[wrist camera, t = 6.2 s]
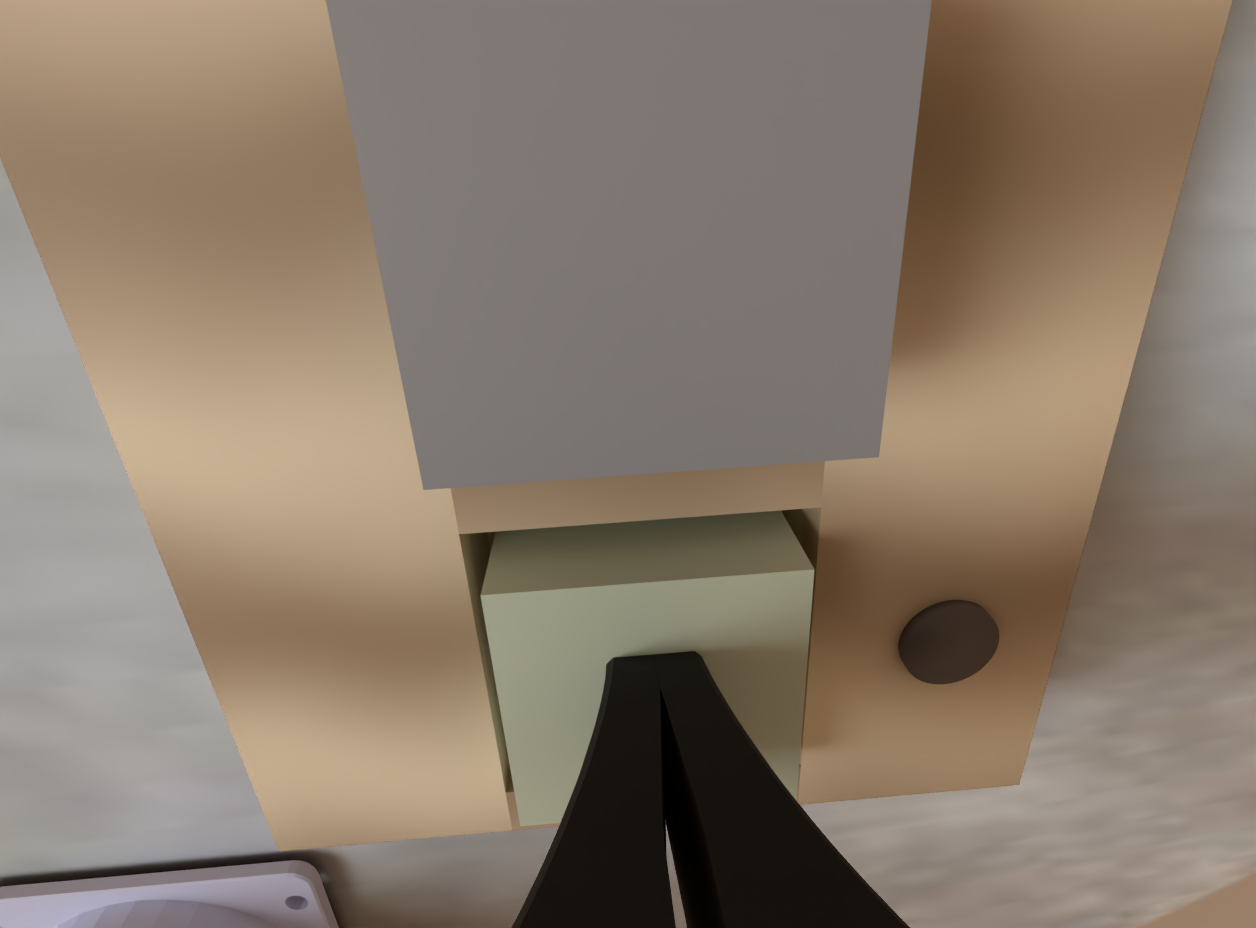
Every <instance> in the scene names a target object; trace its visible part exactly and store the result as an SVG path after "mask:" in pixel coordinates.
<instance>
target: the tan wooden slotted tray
mask: <svg viewBox="0 0 1256 928" xmlns="http://www.w3.org/2000/svg"><path fill="white" fill-rule="evenodd" d="M1232 1H1233V0H932V2H931V11H930V20H929V28H928V37H927V46H926V54H925V63H924V72H923V80H922V89H921V98H920V106H919V115H918V124H917V132H916V141H915V150H914V158H913V167H912V176H911V184H910V193H909V202H908V210H907V219H906V227H905V236H904V245H903V253H902V262H901V271H900V279H899V288H898V297H897V305H896V314H895V323H894V331H893V340H892V349H891V357H890V366H889V375H888V383H887V392H886V401H885V409H884V418H883V427H882V435H881V444H880V453H879V457H875V458H861V459H848V460H834V461H820V462H806V463H792V464H778V465H764V466H750V467H737V468H723V469H709V470H695V471H681V472H667V473H653V474H639V475H626V476H612V477H598V478H584V479H570V480H556V481H542V482H528V483H515V484H501V485H487V486H473V487H459V488H445V489H431V490H423V485H422V480H421V475H420V470H419V465H418V460H417V455H416V450H415V445H414V440H413V435H412V430H411V425H410V420H409V415H408V410H407V405H406V400H405V395H404V390H403V385H402V380H401V375H400V370H399V365H398V360H397V355H396V350H395V345H394V340H393V335H392V330H391V325H390V320H389V315H388V310H387V305H386V300H385V295H384V290H383V285H382V280H381V275H380V270H379V265H378V260H377V255H376V250H375V245H374V240H373V235H372V230H371V225H370V220H369V215H368V210H367V205H366V200H365V195H364V190H363V185H362V180H361V175H360V170H359V165H358V160H357V155H356V150H355V145H354V140H353V134H352V129H351V124H350V119H349V114H348V109H347V104H346V99H345V94H344V89H343V84H342V79H341V74H340V69H339V64H338V59H337V54H336V49H335V44H334V39H333V34H332V29H331V24H330V19H329V14H328V9H327V4H326V0H0V158H1V160H2V163H3V165H4V168H5V170H6V173H7V175H8V178H9V180H10V183H11V185H12V188H13V190H14V193H15V195H16V198H17V200H18V203H19V205H20V208H21V210H22V213H23V215H24V218H25V220H26V223H27V225H28V228H29V230H30V233H31V235H32V238H33V240H34V243H35V245H36V248H37V250H38V253H39V255H40V258H41V260H42V263H43V265H44V267H45V270H46V272H47V275H48V277H49V280H50V282H51V285H52V287H53V290H54V292H55V295H56V297H57V300H58V302H59V305H60V307H61V310H62V312H63V315H64V317H65V320H66V322H67V325H68V327H69V330H70V332H71V335H72V337H73V340H74V342H75V345H76V347H77V350H78V352H79V355H80V357H81V360H82V362H83V365H84V367H85V370H86V372H87V375H88V377H89V380H90V382H91V385H92V387H93V389H94V392H95V394H96V397H97V399H98V402H99V404H100V407H101V409H102V412H103V414H104V417H105V419H106V422H107V424H108V427H109V429H110V432H111V434H112V437H113V439H114V442H115V444H116V447H117V449H118V452H119V454H120V457H121V459H122V462H123V464H124V467H125V469H126V472H127V474H128V477H129V479H130V482H131V484H132V487H133V489H134V492H135V494H136V497H137V499H138V502H139V504H140V507H141V509H142V511H143V514H144V516H145V519H146V521H147V524H148V526H149V529H150V531H151V534H152V536H153V539H154V541H155V544H156V546H157V549H158V551H159V554H160V556H161V559H162V561H163V564H164V566H165V569H166V571H167V574H168V576H169V579H170V581H171V584H172V586H173V589H174V591H175V594H176V596H177V599H178V601H179V604H180V606H181V609H182V611H183V614H184V616H185V619H186V621H187V624H188V626H189V629H190V631H191V633H192V636H193V638H194V641H195V643H196V646H197V648H198V651H199V653H200V656H201V658H202V661H203V663H204V666H205V668H206V671H207V673H208V676H209V678H210V681H211V683H212V686H213V688H214V691H215V693H216V696H217V698H218V701H219V703H220V706H221V708H222V711H223V713H224V716H225V718H226V721H227V723H228V726H229V728H230V731H231V733H232V736H233V738H234V741H235V743H236V746H237V748H238V751H239V753H240V755H241V758H242V760H243V763H244V765H245V768H246V770H247V773H248V775H249V778H250V780H251V783H252V785H253V788H254V790H255V793H256V795H257V798H258V800H259V803H260V805H261V808H262V810H263V813H264V815H265V818H266V820H267V823H268V825H269V828H270V830H271V833H272V835H273V838H274V840H275V843H276V845H277V848H278V850H279V851H288V850H299V849H310V848H321V847H332V846H344V845H355V844H366V843H377V842H388V841H399V840H410V839H422V838H433V837H444V836H455V835H466V834H477V833H488V832H500V831H511V830H522V829H533V828H544V827H555V826H559V825H560V823H553V824H542V825H531V826H520V822H519V816H518V810H517V804H516V799H515V793H514V787H513V781H512V775H511V770H510V764H509V758H508V752H507V746H506V741H505V735H504V729H503V723H502V718H501V712H500V706H499V700H498V694H497V689H496V683H495V677H494V671H493V665H492V660H491V654H490V648H489V642H488V636H487V631H486V625H485V619H484V613H483V607H482V602H481V596H480V595H481V591H482V587H483V583H484V578H485V574H486V570H487V566H488V562H489V557H490V553H491V549H492V545H493V541H494V536H495V532H497V531H510V530H523V529H537V528H550V527H564V526H577V525H591V524H604V523H617V522H631V521H644V520H658V519H671V518H685V517H698V516H711V515H725V514H738V513H752V512H765V511H779V510H781V511H782V513H783V515H784V517H785V518H786V520H787V522H788V524H789V525H790V527H791V529H792V531H793V532H794V534H795V536H796V538H797V540H798V541H799V543H800V545H801V547H802V548H803V550H804V552H805V554H806V555H807V557H808V559H809V561H810V562H811V564H812V566H813V568H814V582H813V595H812V608H811V621H810V634H809V647H808V660H807V673H806V685H805V698H804V711H803V724H802V737H801V750H800V763H799V776H798V789H797V802H798V803H799V805H800V804H812V803H823V802H834V801H845V800H856V799H867V798H878V797H890V796H901V795H912V794H923V793H934V792H945V791H956V790H968V789H979V788H990V787H1001V786H1012V785H1019V784H1020V780H1021V777H1022V773H1023V769H1024V766H1025V762H1026V758H1027V755H1028V751H1029V747H1030V744H1031V740H1032V736H1033V732H1034V729H1035V725H1036V721H1037V718H1038V714H1039V710H1040V707H1041V703H1042V699H1043V696H1044V692H1045V688H1046V685H1047V681H1048V677H1049V674H1050V670H1051V666H1052V663H1053V659H1054V655H1055V652H1056V648H1057V644H1058V641H1059V637H1060V633H1061V629H1062V626H1063V622H1064V618H1065V615H1066V611H1067V607H1068V604H1069V600H1070V596H1071V593H1072V589H1073V585H1074V582H1075V578H1076V574H1077V571H1078V567H1079V563H1080V560H1081V556H1082V552H1083V549H1084V545H1085V541H1086V538H1087V534H1088V530H1089V527H1090V523H1091V519H1092V515H1093V512H1094V508H1095V504H1096V501H1097V497H1098V493H1099V490H1100V486H1101V482H1102V479H1103V475H1104V471H1105V468H1106V464H1107V460H1108V457H1109V453H1110V449H1111V446H1112V442H1113V438H1114V435H1115V431H1116V427H1117V424H1118V420H1119V416H1120V412H1121V409H1122V405H1123V401H1124V398H1125V394H1126V390H1127V387H1128V383H1129V379H1130V376H1131V372H1132V368H1133V365H1134V361H1135V357H1136V354H1137V350H1138V346H1139V343H1140V339H1141V335H1142V332H1143V328H1144V324H1145V321H1146V317H1147V313H1148V310H1149V306H1150V302H1151V298H1152V295H1153V291H1154V287H1155V284H1156V280H1157V276H1158V273H1159V269H1160V265H1161V262H1162V258H1163V254H1164V251H1165V247H1166V243H1167V240H1168V236H1169V232H1170V229H1171V225H1172V221H1173V218H1174V214H1175V210H1176V207H1177V203H1178V199H1179V195H1180V192H1181V188H1182V184H1183V181H1184V177H1185V173H1186V170H1187V166H1188V162H1189V159H1190V155H1191V151H1192V148H1193V144H1194V140H1195V137H1196V133H1197V129H1198V126H1199V122H1200V118H1201V115H1202V111H1203V107H1204V104H1205V100H1206V96H1207V93H1208V89H1209V85H1210V81H1211V78H1212V74H1213V70H1214V67H1215V63H1216V59H1217V56H1218V52H1219V48H1220V45H1221V41H1222V37H1223V34H1224V30H1225V26H1226V23H1227V19H1228V15H1229V12H1230V8H1231V4H1232Z"/></svg>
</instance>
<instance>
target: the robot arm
mask: <svg viewBox="0 0 1256 928" xmlns="http://www.w3.org/2000/svg"><path fill="white" fill-rule="evenodd" d="M665 819H666V822H665ZM666 825H667V830H668V835H669V840H670V845H671V850H672V855H673V860H674V865H675V870H676V875H677V879H678V884H679V889H680V894H681V899H682V904H683V909H684V914H685V918H686V923H687V928H910V927H909V926H908V925H907V924H906V923H905V922H904V921H903V920H902V919H901V918H900V917H899V916H898V915H897V914H896V913H895V912H894V911H893V910H892V909H891V908H890V907H889V906H888V905H887V903H886V902H885V901H884V900H883V899H882V898H881V897H880V896H879V895H878V894H877V893H876V892H875V891H874V890H873V889H872V888H871V887H870V886H869V885H868V884H867V883H866V881H865V880H864V879H863V878H862V877H861V876H860V875H859V874H858V873H857V872H856V870H855V869H854V868H853V867H852V866H851V865H850V864H849V863H848V862H847V860H846V859H845V858H844V857H843V856H842V855H841V854H840V853H839V852H838V850H837V849H836V848H835V847H834V846H833V845H832V843H831V842H830V841H829V840H828V839H827V838H826V836H825V835H824V834H823V833H822V832H821V830H820V829H819V828H818V827H817V826H816V824H815V823H814V822H813V821H812V820H811V818H810V817H809V816H808V815H807V813H806V812H805V811H804V810H803V808H802V807H801V806H800V805H799V803H798V802H797V801H796V800H795V798H794V797H793V796H792V795H791V793H790V792H789V791H788V789H787V788H786V787H785V786H784V784H783V783H782V782H781V780H780V779H779V778H778V776H777V775H776V774H775V772H774V771H773V770H772V768H771V767H770V765H769V764H768V763H767V761H766V760H765V758H764V757H763V755H762V754H761V753H760V751H759V750H758V748H757V747H756V746H755V744H754V743H753V741H752V740H751V738H750V737H749V736H748V734H747V733H746V731H745V730H744V728H743V727H742V725H741V724H740V722H739V721H738V719H737V718H736V716H735V714H734V713H733V711H732V710H731V708H730V706H729V705H728V703H727V701H726V700H725V698H724V697H723V695H722V693H721V691H720V690H719V688H718V686H717V685H716V683H715V681H714V679H713V677H712V676H711V674H710V672H709V670H708V668H707V666H706V664H705V662H704V660H703V657H702V656H701V655H699V654H698V653H697V652H696V651H688V652H677V653H665V654H653V655H641V656H628V657H616V658H612V659H611V660H610V661H609V662H608V663H607V664H606V675H605V682H604V689H603V694H602V699H601V703H600V707H599V711H598V715H597V719H596V723H595V727H594V730H593V733H592V737H591V740H590V743H589V746H588V749H587V752H586V755H585V758H584V762H583V765H582V768H581V771H580V774H579V777H578V779H577V782H576V785H575V787H574V790H573V792H572V795H571V798H570V800H569V803H568V805H567V808H566V810H565V813H564V815H563V818H562V820H561V823H560V825H559V828H558V831H557V833H556V835H555V838H554V840H553V842H552V845H551V847H550V849H549V851H548V854H547V856H546V858H545V861H544V863H543V865H542V867H541V869H540V871H539V874H538V876H537V878H536V880H535V882H534V884H533V886H532V888H531V890H530V892H529V894H528V897H527V899H526V901H525V903H524V905H523V907H522V909H521V911H520V913H519V915H518V917H517V919H516V921H515V923H514V924H513V926H512V928H676V927H675V920H674V912H673V904H672V897H671V889H670V882H669V874H668V866H667V859H666ZM0 928H339V927H338V924H337V921H336V919H335V916H334V913H333V911H332V908H331V905H330V903H329V900H328V897H327V895H326V892H325V889H324V887H323V884H322V881H321V878H320V876H319V873H318V872H317V870H316V869H315V867H314V866H313V865H311V864H309V863H308V862H304V861H301V860H290V861H278V862H267V863H256V864H245V865H234V866H223V867H212V868H201V869H190V870H179V871H168V872H157V873H146V874H134V875H123V876H112V877H101V878H90V879H79V880H68V881H57V882H46V883H35V884H24V885H13V886H1V887H0Z"/></svg>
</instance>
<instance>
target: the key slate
mask: <svg viewBox="0 0 1256 928" xmlns="http://www.w3.org/2000/svg"><path fill="white" fill-rule="evenodd" d="M931 2H932V0H326V4H327V9H328V14H329V19H330V24H331V29H332V34H333V39H334V44H335V49H336V54H337V59H338V64H339V69H340V74H341V79H342V84H343V89H344V94H345V99H346V104H347V109H348V114H349V119H350V124H351V129H352V134H353V140H354V145H355V150H356V155H357V160H358V165H359V170H360V175H361V180H362V185H363V190H364V195H365V200H366V205H367V210H368V215H369V220H370V225H371V230H372V235H373V240H374V245H375V250H376V255H377V260H378V265H379V270H380V275H381V280H382V285H383V290H384V295H385V300H386V305H387V310H388V315H389V320H390V325H391V330H392V335H393V340H394V345H395V350H396V355H397V360H398V365H399V370H400V375H401V380H402V385H403V390H404V395H405V400H406V405H407V410H408V415H409V420H410V425H411V430H412V435H413V440H414V445H415V450H416V455H417V460H418V465H419V470H420V475H421V480H422V485H423V490H431V489H445V488H459V487H473V486H487V485H501V484H515V483H528V482H542V481H556V480H570V479H584V478H598V477H612V476H626V475H639V474H653V473H667V472H681V471H695V470H709V469H723V468H737V467H750V466H764V465H778V464H792V463H806V462H820V461H834V460H848V459H861V458H875V457H879V453H880V444H881V435H882V427H883V418H884V409H885V401H886V392H887V383H888V375H889V366H890V357H891V349H892V340H893V331H894V323H895V314H896V305H897V297H898V288H899V279H900V271H901V262H902V253H903V245H904V236H905V227H906V219H907V210H908V202H909V193H910V184H911V176H912V167H913V158H914V150H915V141H916V132H917V124H918V115H919V106H920V98H921V89H922V80H923V72H924V63H925V54H926V46H927V37H928V28H929V20H930V11H931Z"/></svg>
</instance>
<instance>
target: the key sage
mask: <svg viewBox="0 0 1256 928" xmlns="http://www.w3.org/2000/svg"><path fill="white" fill-rule="evenodd" d="M813 582H814V568H813V566H812V564H811V562H810V561H809V559H808V557H807V555H806V554H805V552H804V550H803V548H802V547H801V545H800V543H799V541H798V540H797V538H796V536H795V534H794V532H793V531H792V529H791V527H790V525H789V524H788V522H787V520H786V518H785V517H784V515H783V513H782V511H781V510H779V511H765V512H752V513H738V514H725V515H711V516H698V517H685V518H671V519H658V520H644V521H631V522H617V523H604V524H591V525H577V526H564V527H550V528H537V529H523V530H510V531H497V532H495V536H494V541H493V545H492V549H491V553H490V557H489V562H488V566H487V570H486V574H485V578H484V583H483V587H482V591H481V595H480V596H481V602H482V607H483V613H484V619H485V625H486V631H487V636H488V642H489V648H490V654H491V660H492V665H493V671H494V677H495V683H496V689H497V694H498V700H499V706H500V712H501V718H502V723H503V729H504V735H505V741H506V746H507V752H508V758H509V764H510V770H511V775H512V781H513V787H514V793H515V799H516V804H517V810H518V816H519V822H520V826H531V825H542V824H553V823H561V820H562V818H563V815H564V813H565V810H566V808H567V805H568V803H569V800H570V798H571V795H572V792H573V790H574V787H575V785H576V782H577V779H578V777H579V774H580V771H581V768H582V765H583V762H584V758H585V755H586V752H587V749H588V746H589V743H590V740H591V737H592V733H593V730H594V727H595V723H596V719H597V715H598V711H599V707H600V703H601V699H602V694H603V689H604V682H605V675H606V664H607V663H608V662H609V661H610V660H611V659H612V658H616V657H628V656H641V655H653V654H665V653H677V652H688V651H696V652H697V653H698V654H699V655H701V656H702V657H703V660H704V662H705V664H706V666H707V668H708V670H709V672H710V674H711V676H712V677H713V679H714V681H715V683H716V685H717V686H718V688H719V690H720V691H721V693H722V695H723V697H724V698H725V700H726V701H727V703H728V705H729V706H730V708H731V710H732V711H733V713H734V714H735V716H736V718H737V719H738V721H739V722H740V724H741V725H742V727H743V728H744V730H745V731H746V733H747V734H748V736H749V737H750V738H751V740H752V741H753V743H754V744H755V746H756V747H757V748H758V750H759V751H760V753H761V754H762V755H763V757H764V758H765V760H766V761H767V763H768V764H769V765H770V767H771V768H772V770H773V771H774V772H775V774H776V775H777V776H778V778H779V779H780V780H781V782H782V783H783V784H784V786H785V787H786V788H787V789H788V791H789V792H790V793H791V795H792V796H793V797H794V798H795V800H796V801H797V789H798V776H799V763H800V750H801V737H802V724H803V711H804V698H805V685H806V673H807V660H808V647H809V634H810V621H811V608H812V595H813Z"/></svg>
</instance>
